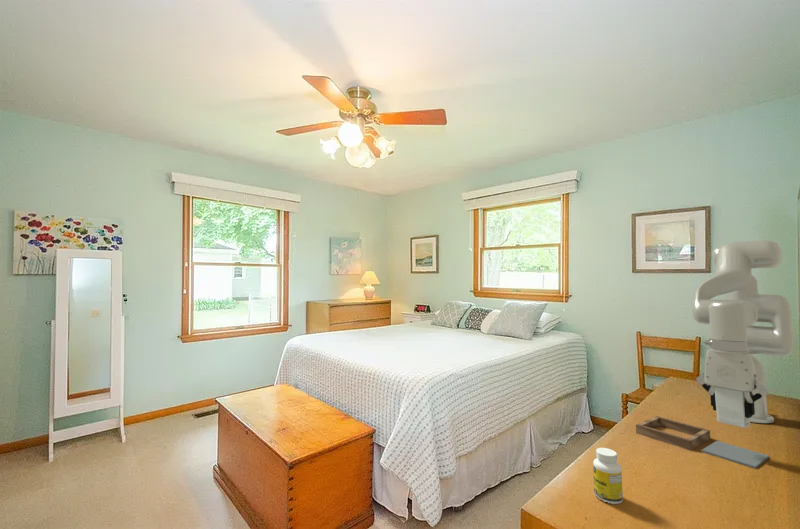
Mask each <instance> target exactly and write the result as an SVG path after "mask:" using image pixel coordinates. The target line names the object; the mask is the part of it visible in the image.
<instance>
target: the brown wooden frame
mask: <svg viewBox="0 0 800 529" xmlns="http://www.w3.org/2000/svg"><path fill="white" fill-rule="evenodd" d="M658 427H663V428H666V429H670V430H674V431H676V430H677V432H680V433H683V432H684V433H683V434H687V435H689V437H687V438H686V437H683V436H680V435H677V434H676V435H675V434H672V433H670V432H665V431H664V430H663V431H662V430H659V429H656V428H658ZM637 433H639V434H638V435H641V434H642V435H641V436H644V437H648V438H651V439H654V440H657V441H660V442H662V443H666V444H670V445H671V446H672V445H673V446H676V447H678V446H679V448H682V449H685V450H689V451H691V450H694V449H695V448H697V447H699V446H700V445H702V444H704V443H706V442H707V441H709V440H711V430H709V429H708V428H707V429H706V428H703V427H700V426H695V425H692V424H688V423H685V422H680V421H677V420H673V419H669V418H665V417H662V416H658V415H657V416H654V417H652V418H649V419H647V420H645V421H644V420H643V421H642V422H640V423H637V424H635V434H637ZM690 435H691V436H690Z"/></svg>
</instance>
